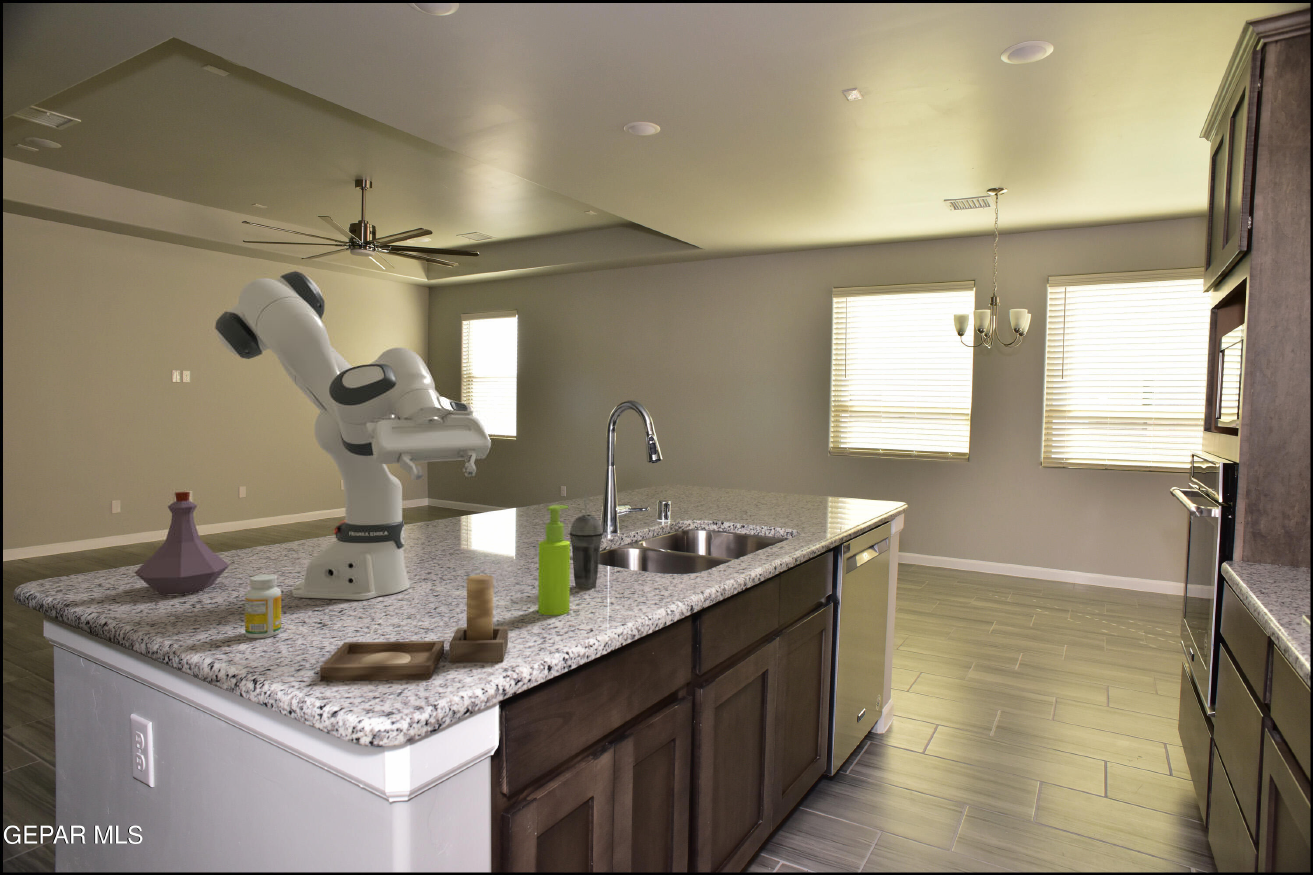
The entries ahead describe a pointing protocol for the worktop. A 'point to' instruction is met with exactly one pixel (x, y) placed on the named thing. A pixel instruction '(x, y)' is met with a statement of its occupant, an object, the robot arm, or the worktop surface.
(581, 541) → the beverage cup
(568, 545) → the soap dispenser
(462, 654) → the socket
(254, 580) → the supplement bottle
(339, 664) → the tray
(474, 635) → the dowel
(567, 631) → the worktop surface
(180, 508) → the flask
